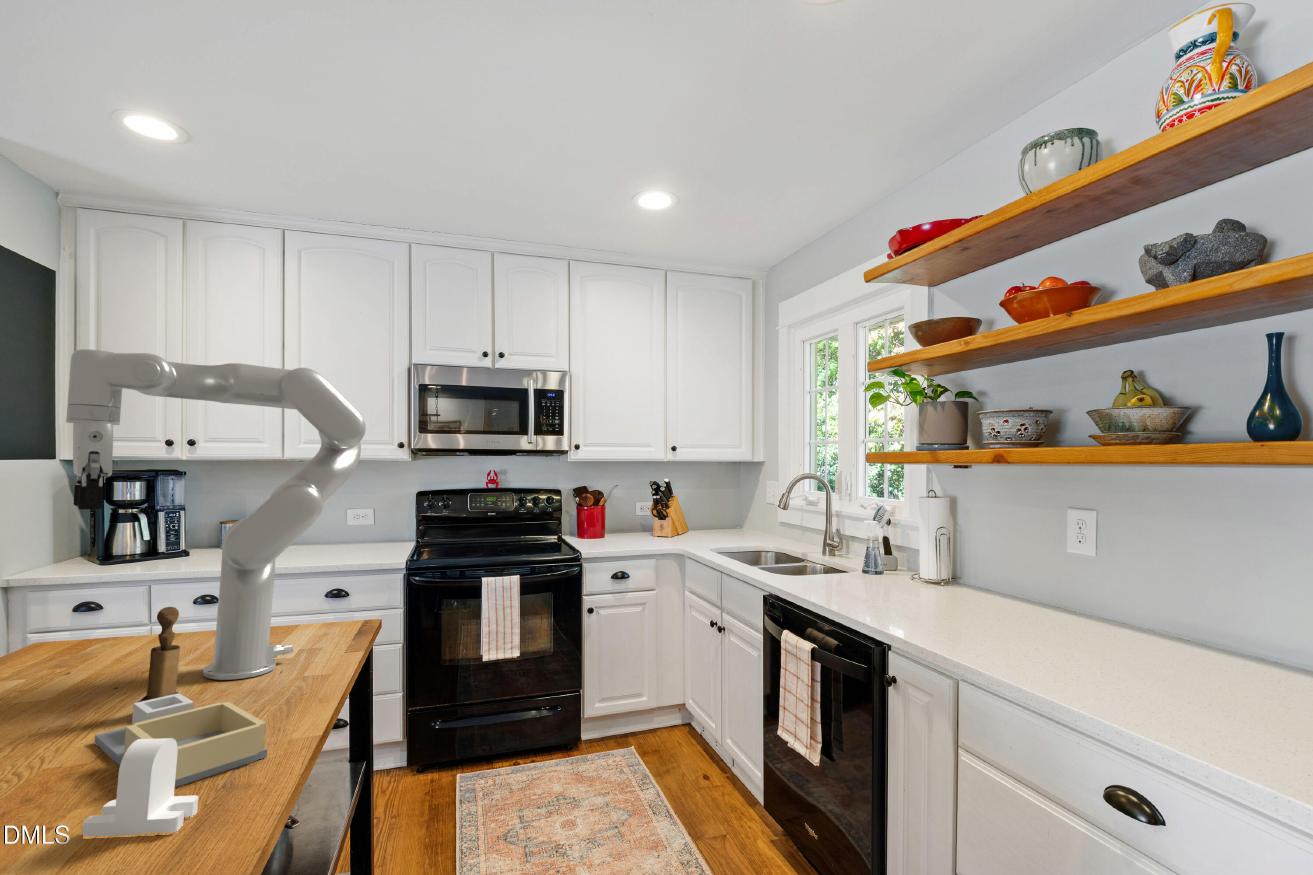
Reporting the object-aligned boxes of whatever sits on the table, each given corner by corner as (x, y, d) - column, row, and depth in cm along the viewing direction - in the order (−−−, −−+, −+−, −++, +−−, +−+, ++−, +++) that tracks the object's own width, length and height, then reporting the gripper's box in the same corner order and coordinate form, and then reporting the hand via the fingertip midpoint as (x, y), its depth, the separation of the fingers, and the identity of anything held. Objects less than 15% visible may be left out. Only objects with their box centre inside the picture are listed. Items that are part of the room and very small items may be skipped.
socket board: (201, 715, 107) (203, 684, 107) (268, 758, 93) (271, 722, 93) (94, 742, 95) (97, 708, 96) (152, 796, 82) (156, 755, 82)
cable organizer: (174, 835, 74) (181, 748, 74) (78, 840, 72) (86, 751, 72) (199, 811, 79) (205, 730, 79) (110, 814, 77) (117, 732, 78)
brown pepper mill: (192, 710, 109) (201, 606, 110) (152, 723, 103) (161, 613, 104) (166, 704, 111) (175, 601, 112) (125, 717, 105) (135, 608, 106)
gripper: (126, 416, 114) (119, 510, 114) (114, 418, 126) (108, 503, 125) (70, 412, 109) (63, 511, 108) (63, 416, 121) (56, 504, 120)
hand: (87, 507), depth 117 cm, fingers open, 9 cm apart
